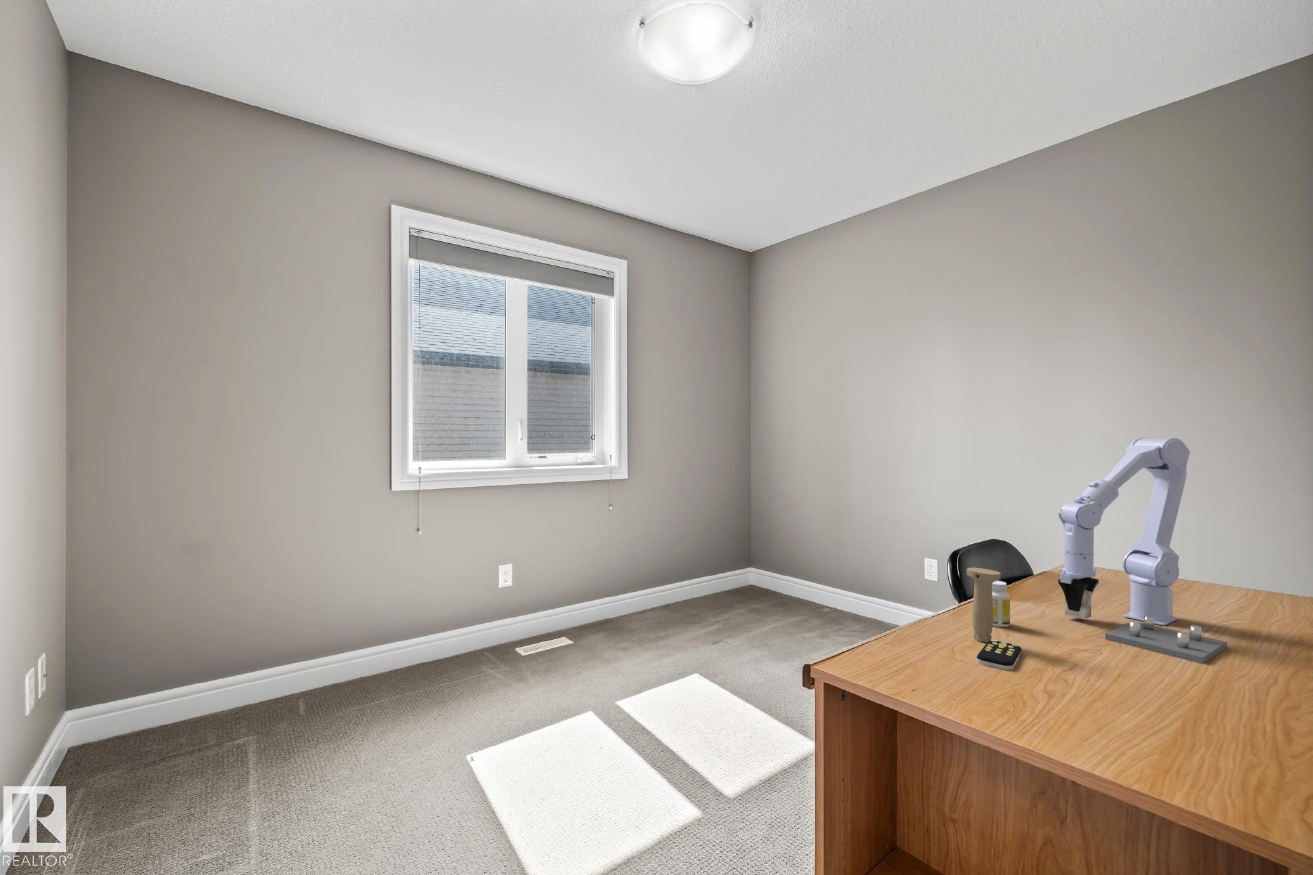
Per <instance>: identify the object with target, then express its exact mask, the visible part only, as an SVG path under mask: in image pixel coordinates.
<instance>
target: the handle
mask: <svg viewBox="0 0 1313 875" xmlns="http://www.w3.org/2000/svg"><path fill="white" fill-rule="evenodd" d="M966 576H968V577H970V578H971V579H972V580H973V582H974V583H973V585H974V588H973V598H972V599H973V600H972V609H971V610H972V613H971V617H972V630H973V638H974V640H977V641H978V642H983V643H987V642H988V641H990V640H992V636H993V635H992V633H993V628H994V626H993V600H992V583H993V582H995V581H1000V580H1001V572H999V571H997V570H992V569H989V568H981V567H968V568H967V567H966Z"/></svg>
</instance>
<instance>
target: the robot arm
mask: <svg viewBox="0 0 1313 875" xmlns="http://www.w3.org/2000/svg"><path fill="white" fill-rule="evenodd" d="M1190 454H1191V451H1190V449H1189V448H1188V446H1187V445H1186V444H1185V443H1184V441H1183V440H1181V439H1179V438H1177V437H1171V438H1146V437H1138V438H1135V439H1134V440H1133V441H1132V442H1131V443H1130V445H1128V446H1127V447H1126V448H1125V455H1124V456H1123V457H1122V458H1121V459H1120V460H1119V461H1118V462H1117V464H1116V465H1115V466H1114V467H1113V468H1112V469H1111V470H1110V471H1109V473H1108V474H1107V475H1106V476H1105V477H1104V478H1103V479H1097V480H1094V481H1091V482H1089V483H1088V487H1086V489H1085V490H1084V491H1083V492H1082V493H1081V494H1080V495H1079V496H1077V497H1076V498H1074V500H1073V501H1071V502H1067V503H1066V504H1064V505H1063V506H1062V507H1061V509H1060V512H1058V518H1059V520H1060V522H1061V523H1062V529H1063V531H1064V550H1063V551H1064V553H1063V554H1064V555H1063V557H1064V559H1063V566H1062V567H1058V571H1059V572H1062V573H1060V576H1059V578H1058V580H1057V583H1058V584H1059V587H1060V588H1061V590H1062V593H1063V596H1064V599H1065V598H1066V602H1067V606H1068V609H1069V610H1072V611H1077V612H1079V611H1080V608H1081V603H1082V597H1083V594H1084V591H1085V590H1086V591H1091V592H1092V594H1093V592H1094V591H1095V589H1096V587H1097V586H1098V584H1099V583H1100V581H1099V579H1098V578H1093V577H1096V576H1097V568H1096V567H1094V561H1095V560H1094V558H1095V557H1094V555H1095V554H1094V553H1095V551H1094V550H1095V548H1094V546H1095V542H1094V541H1095V540H1094V539H1095V528H1096V527H1097V526H1099V525H1100V523H1101V521H1102V515H1103V514H1104V511H1105V510H1106V509H1107V508H1109V506H1110V505H1111V504H1113V503H1114V501H1115V500H1116V499H1117V498H1118V497H1119V488H1121V487H1122V486H1123V485H1124V484H1126V483H1127V482H1128V481H1129V480H1130V479H1131V478H1133V477H1134V476H1135V475H1136V474H1138V473H1139V472H1140V471H1141V470H1142V469H1145V470H1146V471H1147V472H1149V473H1150V474H1152V476H1153V477H1154V484H1153V487H1152V492H1151V496H1150V499H1149V500H1150V501H1149V504H1148V509H1147V512H1146V516H1145V519H1144V520H1145V521H1144V524H1143V528H1142V532H1141V537H1140V539H1139V540H1138V541H1136V542H1134V543H1132V544H1131V545H1130V546H1129V548H1128V549H1129V550H1128V552H1127V553H1126V554H1125V556H1123V559H1122V569H1123V571H1124V572H1125V573H1126V574H1127V575H1128V577H1127V578H1128V580H1130V600H1129V601H1130V605H1129V606H1130V607H1129V608H1130V610H1129V612H1126V613H1125V614H1123V615H1122V616H1123V617H1124V618H1129V619H1133V620H1138V621H1143V617H1144V615H1148V616H1152V617H1154V625H1155V624H1156V625H1160V626H1166V625H1168V624H1170V623H1173V622H1174V621H1176V620H1178V617H1177V616H1174V615H1173V614H1174V612H1173V609H1174V608H1173V605H1174V602H1173V601H1174V593H1173V590H1172V588H1171V587H1172V586H1173V584H1174V583H1175V582H1176V581H1177V580H1178V578H1179V576H1180V568H1179V560H1180V556H1179V555H1178V553H1176V552H1175V551H1174V550H1173V549H1172V547H1171V542H1172V537H1173V534H1174V530H1175V525H1176V521H1177V517H1178V513H1179V511H1180V510H1179V509H1180V506H1181V505H1180V504H1181V500H1182V496H1183V493H1184V488H1185V484H1186V479H1187V474H1188V473H1187V466H1188V462H1189V457H1190ZM1154 555H1156V556H1154Z"/></svg>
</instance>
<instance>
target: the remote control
mask: <svg viewBox="0 0 1313 875" xmlns="http://www.w3.org/2000/svg"><path fill="white" fill-rule="evenodd" d="M1022 653H1023V650H1022V648H1021V646H1019V645H1018V644H1017V643H1009V642H1005V641H1000V640H997V639H991V640H990V641H988V642H985V645H983V647H982V648H981V649H980V650H979V652H978V654H977V655H976V662H977V663H978V664H980V665H982V666H987V667H991V668H994V669H1000V670H1004V671H1013V669H1014V668H1015V666H1016V664H1017V662H1018V661H1019V659H1020V658H1021V655H1022Z"/></svg>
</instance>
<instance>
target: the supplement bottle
mask: <svg viewBox="0 0 1313 875" xmlns="http://www.w3.org/2000/svg"><path fill="white" fill-rule="evenodd" d="M1007 589H1008V586H1007V582H1005V581H1001V580H998V581H995V582H993V583H992V600H993V627H999V628H1008V627H1010V624H1011V596H1010V593H1008V592H1007Z"/></svg>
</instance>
